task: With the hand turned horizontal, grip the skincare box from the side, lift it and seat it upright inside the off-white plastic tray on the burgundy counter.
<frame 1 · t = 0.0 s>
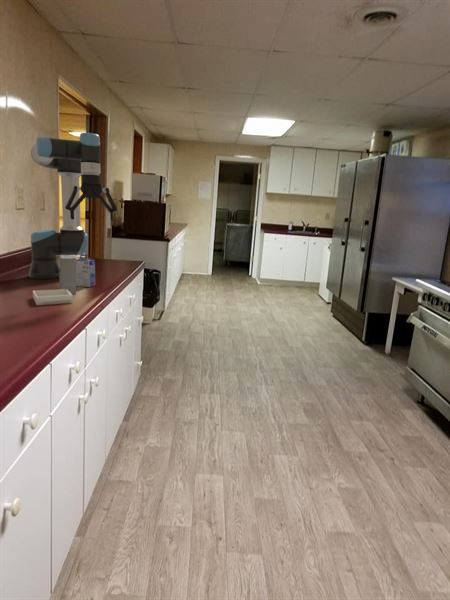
hand: (92, 228, 175), 28 cm above the countertop, tool pointing down, fingers open, 13 cm apart
ink cartridge box: (83, 286, 198), on the countertop
tray: (52, 300, 168), on the countertop
skincare box: (68, 293, 182), on the countertop
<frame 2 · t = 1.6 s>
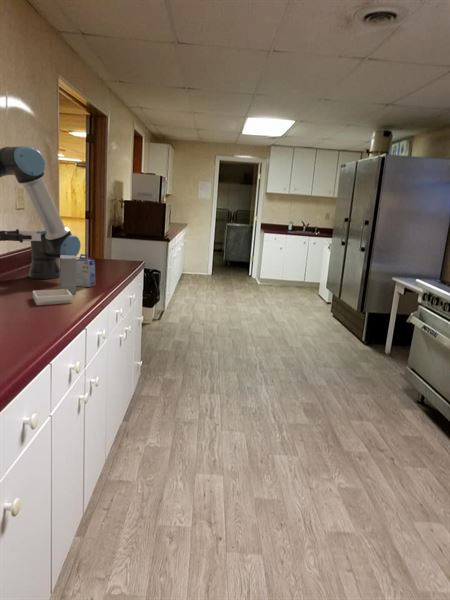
hand: (38, 235, 174), 24 cm above the countertop, tool horizontal, fingers open, 13 cm apart
nothing on the countertop moved.
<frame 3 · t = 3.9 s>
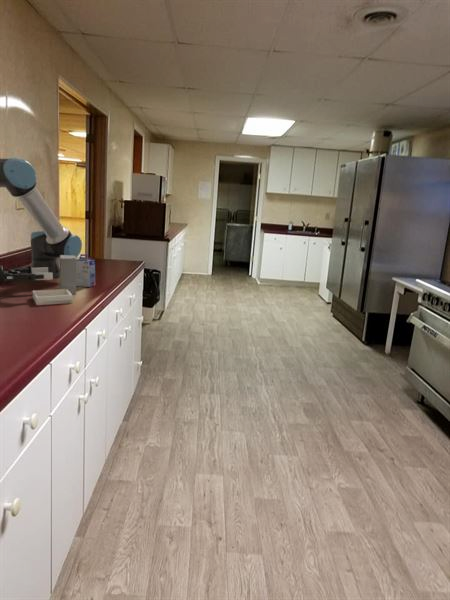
hand: (50, 273, 176), 9 cm above the countertop, tool horizontal, fingers open, 13 cm apart
nothing on the countertop moved.
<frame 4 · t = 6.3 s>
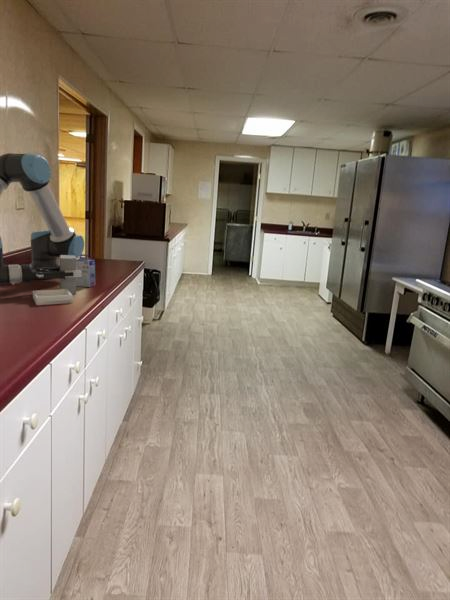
hand: (79, 271, 182), 9 cm above the countertop, tool horizontal, fingers closed on skincare box, 8 cm apart
skincare box: (68, 293, 182), on the countertop, touching gripper
everything else where it was.
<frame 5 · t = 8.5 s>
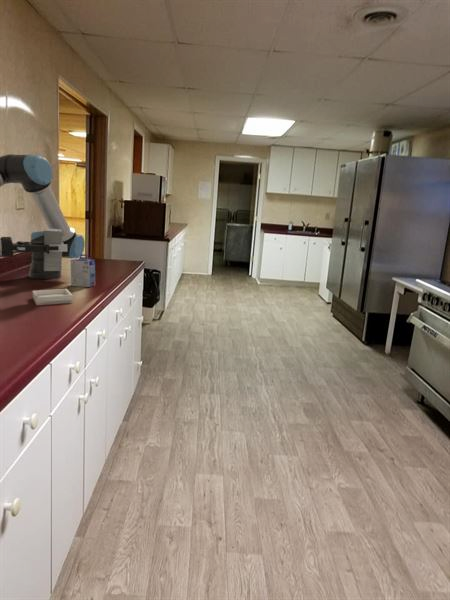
hand: (65, 246, 168), 21 cm above the countertop, tool horizontal, fingers closed on skincare box, 8 cm apart
skincare box: (53, 270, 168), point 12 cm above the countertop, touching gripper
everything else where it was.
when the fingers open (12 cm above the countertop, at t = 10.8 s): skincare box drops 1 cm, resting on tray.
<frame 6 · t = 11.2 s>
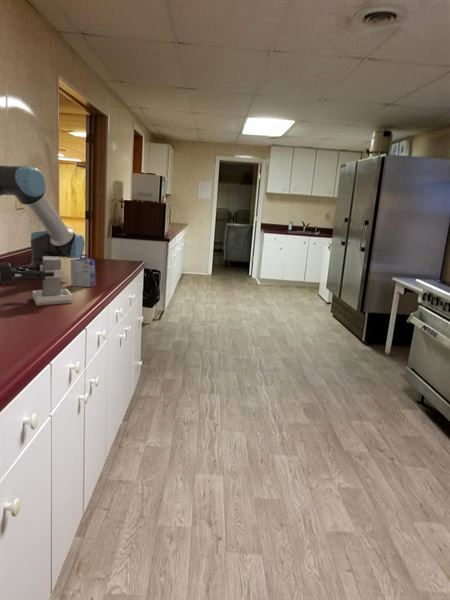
hand: (60, 270, 167), 12 cm above the countertop, tool horizontal, fingers open, 13 cm apart
skincare box: (52, 297, 168), point 1 cm above the countertop, touching tray
everything else where it was.
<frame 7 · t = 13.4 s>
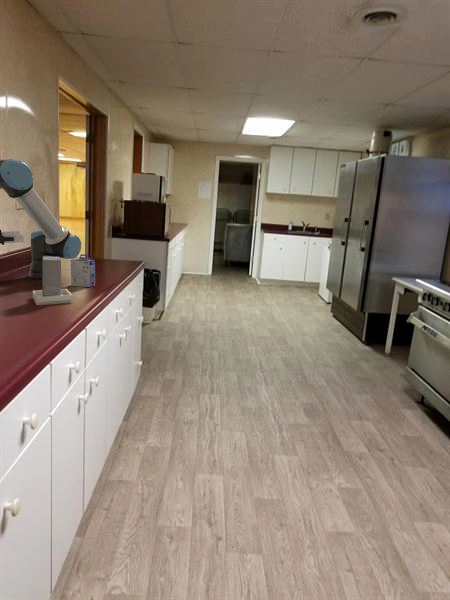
hand: (22, 236, 163), 24 cm above the countertop, tool horizontal, fingers open, 13 cm apart
nothing on the countertop moved.
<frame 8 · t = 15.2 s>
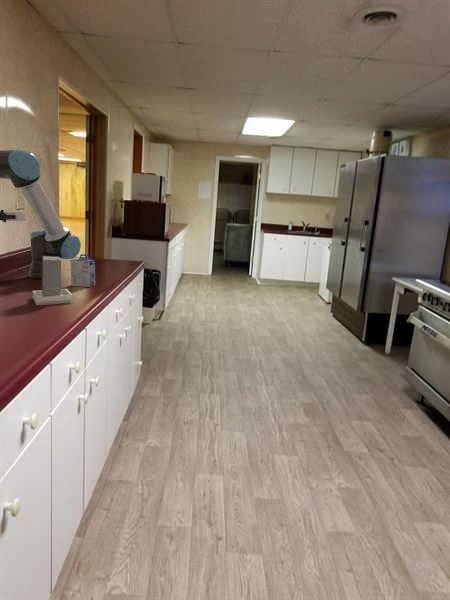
hand: (24, 216, 166), 32 cm above the countertop, tool horizontal, fingers open, 13 cm apart
nothing on the countertop moved.
at the end: skincare box 0.2 cm from the tray (horizontally); skincare box tilted 0°; the gripper is holding nothing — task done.
